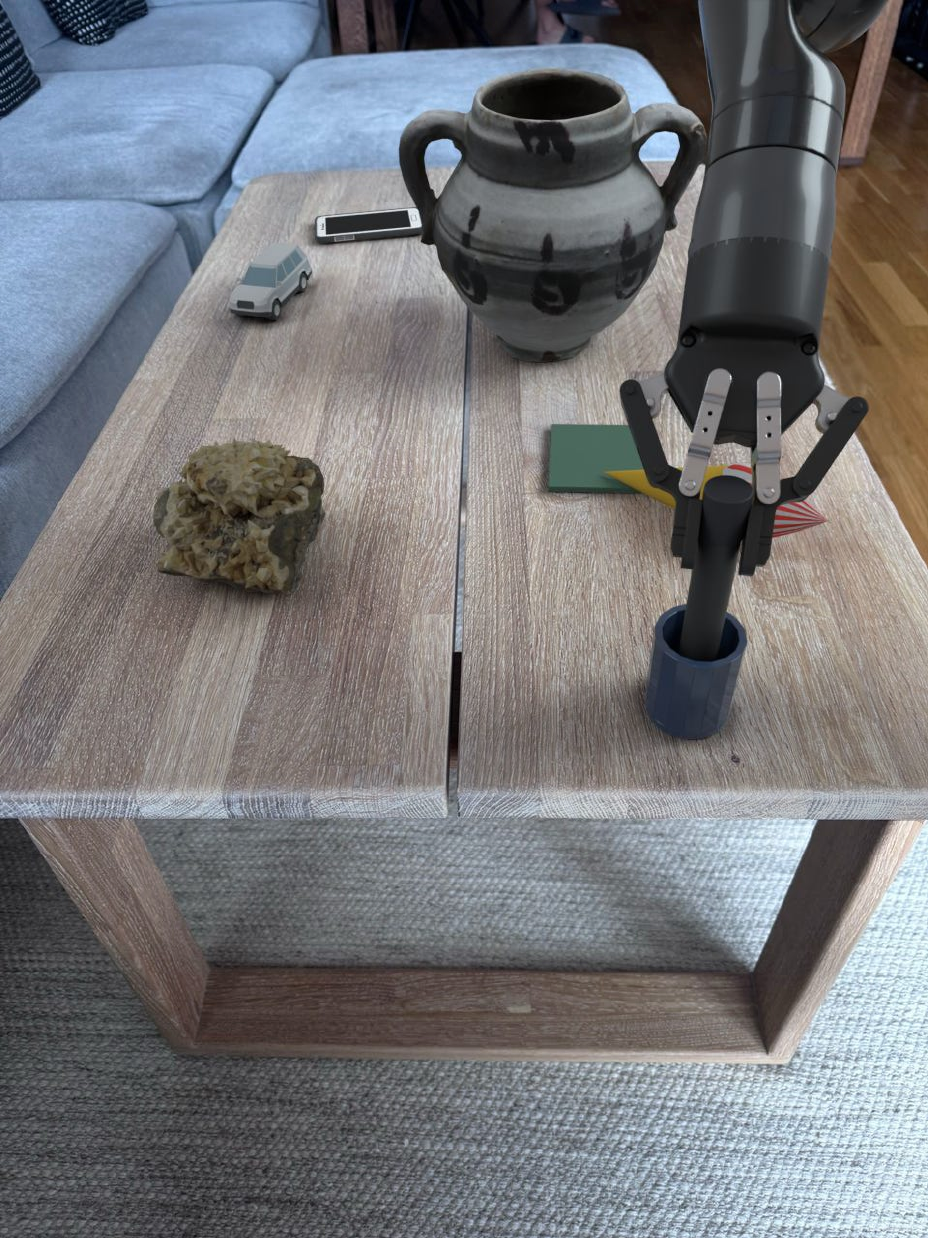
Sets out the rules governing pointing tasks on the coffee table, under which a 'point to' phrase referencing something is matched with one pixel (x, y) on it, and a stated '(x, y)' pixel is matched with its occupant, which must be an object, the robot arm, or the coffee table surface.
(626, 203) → the ceramic pot
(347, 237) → the cell phone
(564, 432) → the felt pad
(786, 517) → the ice cream cone
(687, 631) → the cylinder
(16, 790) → the coffee table surface
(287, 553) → the mineral specimen
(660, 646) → the pen cup
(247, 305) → the toy car
